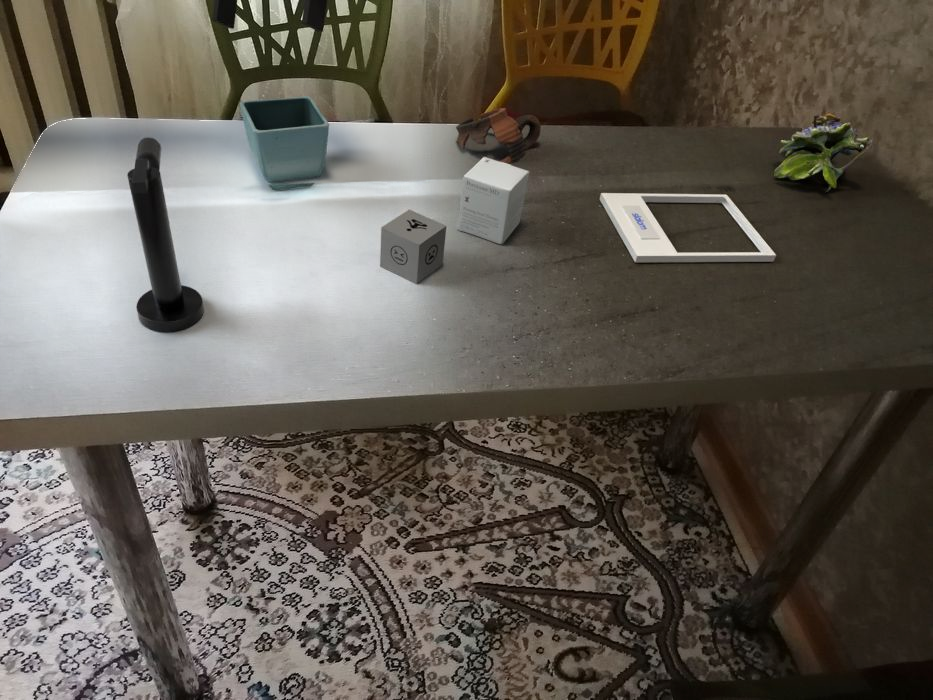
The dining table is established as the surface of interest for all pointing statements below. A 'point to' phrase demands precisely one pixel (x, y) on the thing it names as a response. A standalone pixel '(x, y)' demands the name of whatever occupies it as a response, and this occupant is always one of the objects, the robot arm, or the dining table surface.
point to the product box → (492, 200)
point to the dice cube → (412, 246)
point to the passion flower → (820, 149)
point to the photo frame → (652, 241)
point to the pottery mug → (501, 132)
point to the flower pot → (286, 139)
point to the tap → (159, 249)
